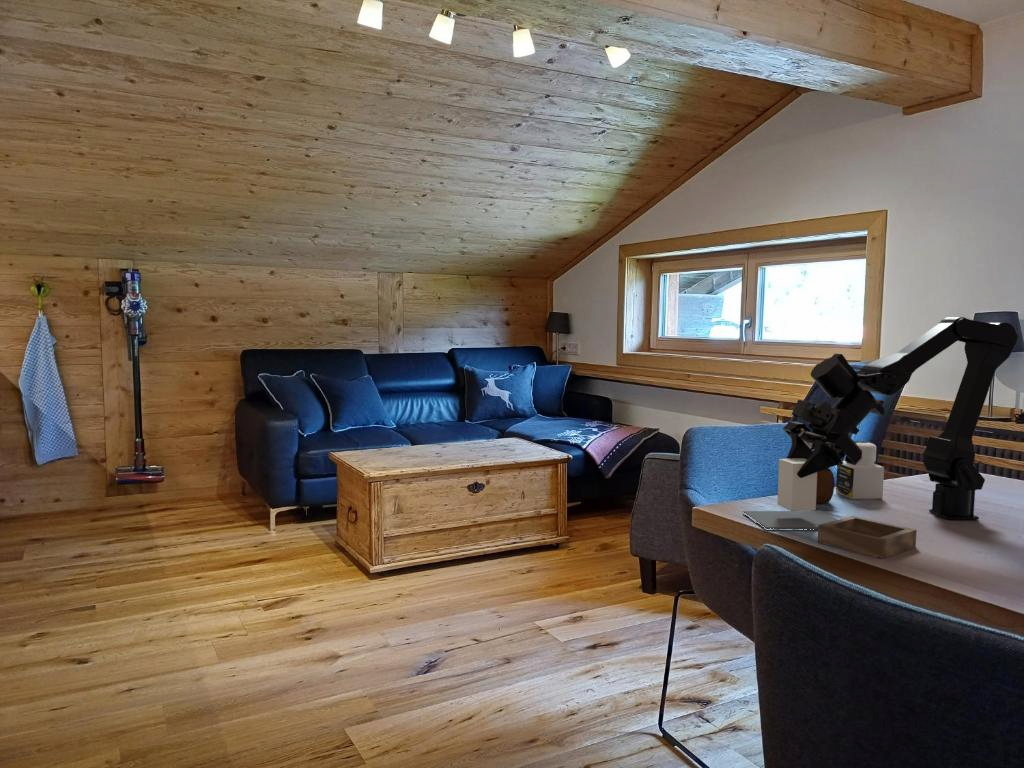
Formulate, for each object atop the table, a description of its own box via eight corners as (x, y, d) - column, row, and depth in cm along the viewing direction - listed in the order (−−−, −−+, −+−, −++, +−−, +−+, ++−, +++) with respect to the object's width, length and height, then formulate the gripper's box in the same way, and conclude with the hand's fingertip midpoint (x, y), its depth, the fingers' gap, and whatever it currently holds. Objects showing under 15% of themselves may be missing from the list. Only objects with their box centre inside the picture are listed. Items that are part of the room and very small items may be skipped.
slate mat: (821, 513, 154) (821, 510, 154) (851, 530, 142) (851, 527, 142) (742, 514, 153) (743, 511, 153) (766, 530, 141) (766, 527, 141)
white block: (801, 503, 150) (802, 458, 149) (815, 510, 145) (817, 462, 144) (777, 504, 149) (779, 458, 148) (791, 511, 144) (793, 463, 144)
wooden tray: (851, 531, 141) (852, 515, 141) (915, 546, 132) (916, 529, 132) (817, 542, 134) (818, 525, 134) (882, 558, 125) (883, 540, 125)
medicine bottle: (835, 492, 174) (837, 439, 173) (865, 492, 175) (868, 439, 174) (851, 499, 167) (854, 444, 166) (883, 499, 168) (886, 444, 167)
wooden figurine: (836, 506, 160) (839, 435, 159) (806, 505, 161) (809, 433, 160) (829, 499, 167) (832, 430, 166) (801, 497, 168) (804, 429, 167)
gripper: (793, 381, 155) (741, 436, 154) (850, 389, 137) (790, 452, 136) (827, 419, 157) (775, 474, 156) (888, 433, 139) (829, 495, 138)
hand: (791, 473), depth 146 cm, fingers closed on white block, 5 cm apart
